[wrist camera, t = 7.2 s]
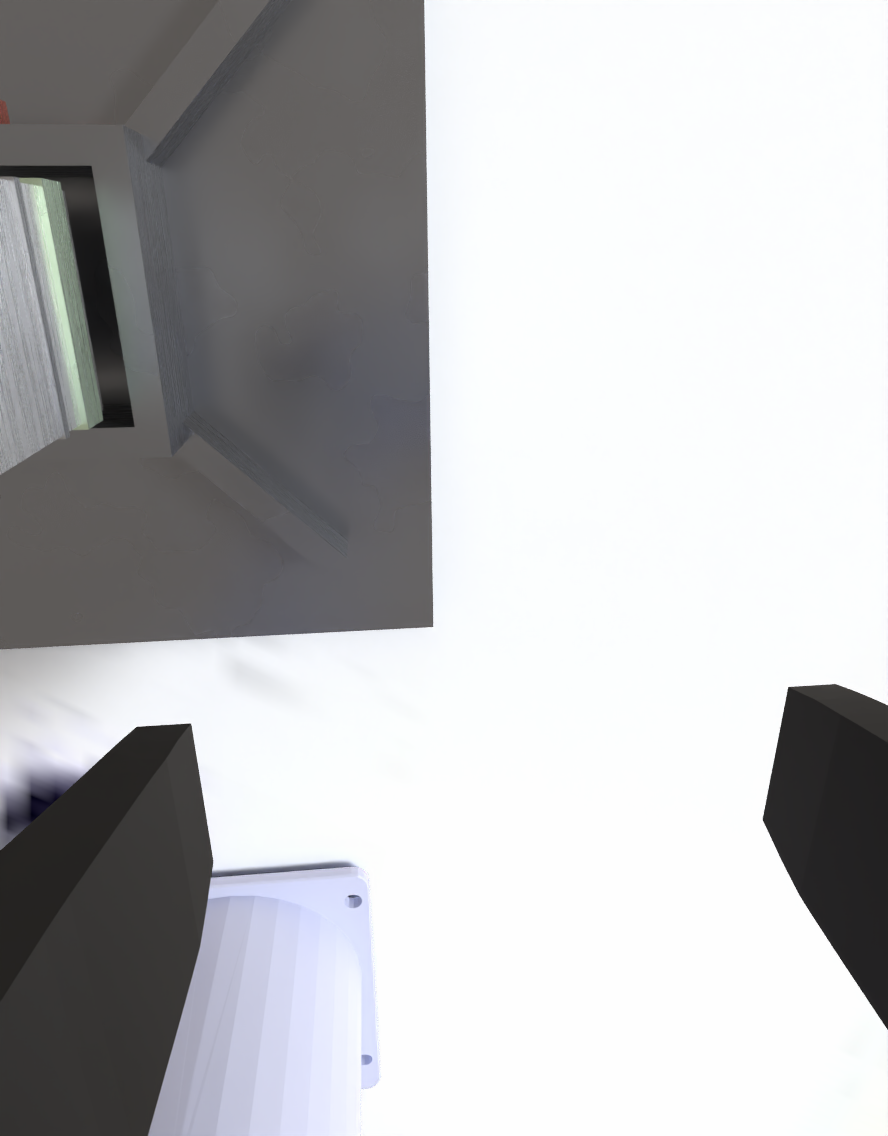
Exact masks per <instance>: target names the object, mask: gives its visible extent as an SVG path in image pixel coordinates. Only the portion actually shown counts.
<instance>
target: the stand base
mask: <svg viewBox="0 0 888 1136" xmlns="http://www.w3.org/2000/svg"><path fill="white" fill-rule="evenodd" d="M0 177H17V178H43V179H48V180H53V181H57V182H60V183H61V188H62V191H64V193H65V198H66V204H67V209H68V215H69V221H70V226H71V232H72V237H73V243H74V248H75V254H76V260H77V265H78V271H79V276H80V282H81V287H82V293H83V299H84V304H85V310H86V315H87V321H88V326H89V332H90V337H91V343H92V349H93V354H94V360H95V365H96V371H97V376H98V382H99V388H100V393H101V399H102V404H103V411H102V415H103V420H102V421H101V422H99V423H98V424H96V425H95V426H93V427H92V428H90V429H89V430H71V431H70V437H69V438H67V439H57V440H55V441H53V442H52V443H50V444H49V445H47V446H45V447H44V448H42V449H41V450H39V451H37V452H36V453H34V454H33V455H31V456H30V457H28V458H26V459H25V460H23V461H22V462H20V463H18V464H17V465H15V466H14V467H12V468H10V469H9V470H7V471H6V472H4V473H2V474H1V475H0V649H14V648H33V647H53V646H72V645H91V644H111V643H130V642H149V641H169V640H188V639H208V638H227V637H246V636H266V635H285V634H304V633H324V632H343V631H362V630H382V629H401V628H421V627H433V584H432V515H431V446H430V377H429V308H428V239H427V170H426V101H425V32H424V0H0Z"/></svg>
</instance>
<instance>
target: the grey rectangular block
mask: <svg viewBox="0 0 888 1136" xmlns="http://www.w3.org/2000/svg"><path fill="white" fill-rule="evenodd" d="M102 411H103V404H102V399H101V393H100V388H99V382H98V376H97V371H96V365H95V360H94V354H93V349H92V343H91V337H90V332H89V326H88V321H87V315H86V310H85V304H84V299H83V293H82V287H81V282H80V276H79V271H78V265H77V260H76V254H75V248H74V243H73V237H72V232H71V226H70V221H69V215H68V209H67V204H66V198H65V193H64V191H62V188H61V183H60V182H57V181H53V180H48V179H43V178H17V177H0V475H1V474H2V473H4V472H6V471H7V470H9V469H10V468H12V467H14V466H15V465H17V464H18V463H20V462H22V461H23V460H25V459H26V458H28V457H30V456H31V455H33V454H34V453H36V452H37V451H39V450H41V449H42V448H44V447H45V446H47V445H49V444H50V443H52V442H53V441H55V440H57V439H67V438H69V437H70V431H71V430H89V429H90V428H92V427H93V426H95V425H96V424H98V423H99V422H101V421H102V420H103V415H102Z"/></svg>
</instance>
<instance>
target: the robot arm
mask: <svg viewBox="0 0 888 1136" xmlns="http://www.w3.org/2000/svg"><path fill="white" fill-rule="evenodd" d="M763 821H764V823H765V826H766V828H767V830H768V832H769V834H770V836H771V838H772V841H773V843H774V845H775V847H776V849H777V851H778V853H779V856H780V858H781V860H782V862H783V864H784V866H785V868H786V870H787V872H788V874H789V876H790V878H791V880H792V881H793V883H794V885H795V887H796V889H797V891H798V893H799V895H800V897H801V898H802V900H803V901H804V903H805V905H806V906H807V908H808V909H809V911H810V913H811V914H812V916H813V917H814V919H815V920H816V922H817V923H818V925H819V926H820V928H821V930H822V931H823V933H824V934H825V936H826V937H827V939H828V940H829V942H830V943H831V945H832V946H833V948H834V950H835V951H836V953H837V954H838V956H839V957H840V959H841V960H842V962H843V963H844V965H845V966H846V968H847V969H848V971H849V972H850V974H851V975H852V977H853V978H854V980H855V981H856V983H857V984H858V986H859V987H860V989H861V990H862V992H863V993H864V995H865V996H866V998H867V999H868V1001H869V1002H870V1004H871V1005H872V1007H873V1008H874V1010H875V1011H876V1013H877V1014H878V1016H879V1017H880V1019H881V1020H882V1022H883V1023H884V1025H885V1026H886V1028H887V1029H888V705H886V704H883V703H881V702H879V701H877V700H874V699H872V698H870V697H867V696H865V695H863V694H860V693H858V692H855V691H853V690H850V689H847V688H844V687H842V686H839V685H836V684H832V685H815V686H799V687H788V692H787V697H786V702H785V707H784V712H783V718H782V723H781V728H780V733H779V738H778V743H777V748H776V754H775V759H774V764H773V769H772V774H771V779H770V785H769V790H768V795H767V800H766V805H765V810H764V815H763ZM212 867H213V857H212V850H211V844H210V838H209V832H208V826H207V819H206V813H205V807H204V801H203V795H202V788H201V782H200V776H199V770H198V763H197V757H196V751H195V745H194V739H193V732H192V726H191V724H176V725H160V726H143V727H136V728H135V729H134V730H133V731H132V732H130V733H129V734H128V735H127V736H126V737H124V738H123V739H122V740H121V741H120V742H119V743H118V744H117V745H116V746H115V747H113V748H112V749H111V750H110V751H109V752H108V753H107V754H106V755H105V756H104V757H103V758H102V759H100V760H99V761H98V762H97V763H96V764H95V765H94V766H93V767H92V768H91V769H90V770H89V771H88V772H87V773H85V774H84V775H83V776H82V777H81V778H80V779H79V780H78V781H77V782H76V783H75V784H74V785H73V786H71V787H70V788H69V789H68V790H67V791H66V792H65V793H64V794H63V795H62V796H61V797H59V798H58V799H57V800H56V801H55V802H54V803H53V804H52V805H51V806H49V807H48V808H47V809H46V810H45V811H44V812H43V813H42V814H41V815H40V816H38V817H37V818H36V819H35V820H34V821H33V822H32V823H31V824H30V825H28V826H27V827H26V828H25V829H24V830H23V831H22V832H21V833H20V834H18V835H17V836H16V837H15V838H14V839H13V840H12V841H11V842H10V843H8V844H7V845H6V846H5V847H4V848H3V849H2V850H0V1136H361V1089H367V1088H371V1087H373V1086H375V1085H376V1084H377V1083H378V1082H379V1081H380V1078H381V1069H380V1052H379V1035H378V1018H377V1001H376V984H375V967H374V951H373V934H372V917H371V900H370V883H369V876H368V873H367V872H366V871H365V870H363V869H361V868H359V867H342V868H329V869H316V870H304V871H291V872H278V873H265V874H253V875H240V876H227V877H214V878H211V874H212ZM349 895H358V897H355V898H351V897H348V896H349Z"/></svg>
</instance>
